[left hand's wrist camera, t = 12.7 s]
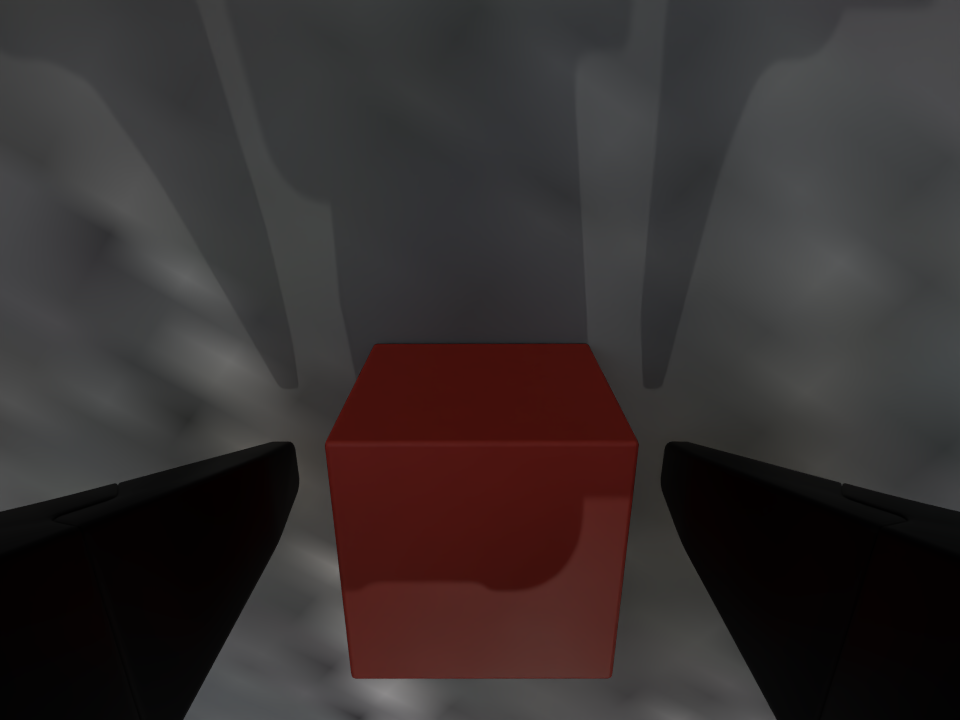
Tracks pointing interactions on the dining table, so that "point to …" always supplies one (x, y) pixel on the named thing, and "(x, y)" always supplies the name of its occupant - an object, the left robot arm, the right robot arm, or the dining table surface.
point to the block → (481, 512)
